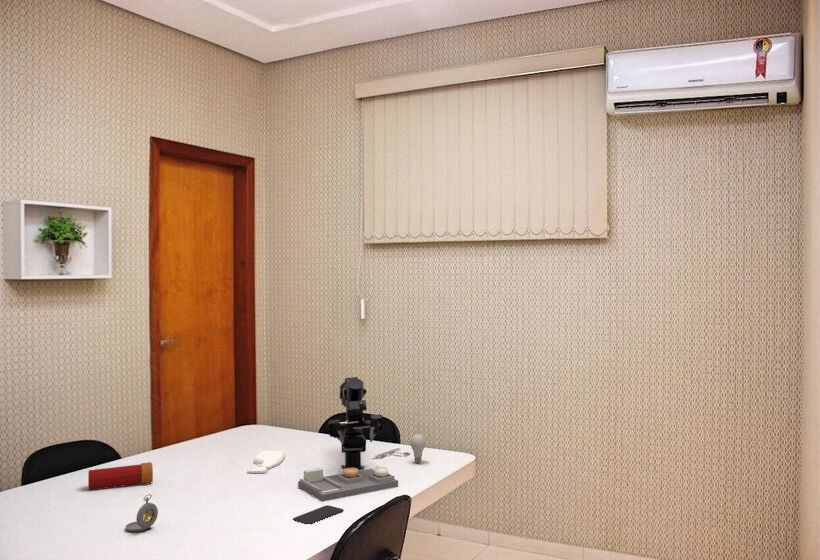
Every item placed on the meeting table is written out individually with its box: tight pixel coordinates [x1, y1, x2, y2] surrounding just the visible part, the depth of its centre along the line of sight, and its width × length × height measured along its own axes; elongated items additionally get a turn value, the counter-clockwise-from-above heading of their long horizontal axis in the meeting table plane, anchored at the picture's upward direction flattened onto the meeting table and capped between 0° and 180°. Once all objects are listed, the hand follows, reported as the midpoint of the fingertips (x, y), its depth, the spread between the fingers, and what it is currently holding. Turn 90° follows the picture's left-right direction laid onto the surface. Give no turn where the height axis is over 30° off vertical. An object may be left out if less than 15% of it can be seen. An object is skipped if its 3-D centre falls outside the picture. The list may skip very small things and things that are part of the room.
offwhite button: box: [374, 466, 389, 477], centre depth 228 cm, size 5×5×2 cm
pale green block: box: [303, 467, 324, 483], centre depth 226 cm, size 2×6×4 cm, turn 124°
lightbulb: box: [409, 433, 427, 464], centre depth 257 cm, size 6×6×11 cm
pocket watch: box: [125, 493, 159, 533], centre depth 186 cm, size 8×8×10 cm
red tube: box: [87, 461, 154, 490], centre depth 227 cm, size 7×20×7 cm, turn 114°
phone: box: [292, 504, 344, 525], centre depth 198 cm, size 7×1×15 cm
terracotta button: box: [343, 468, 359, 477], centre depth 227 cm, size 5×5×2 cm
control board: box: [297, 468, 399, 502], centre depth 226 cm, size 18×28×4 cm, turn 124°
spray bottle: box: [246, 450, 286, 474], centre depth 254 cm, size 3×11×24 cm
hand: (357, 443), depth 225 cm, fingers open, 9 cm apart
